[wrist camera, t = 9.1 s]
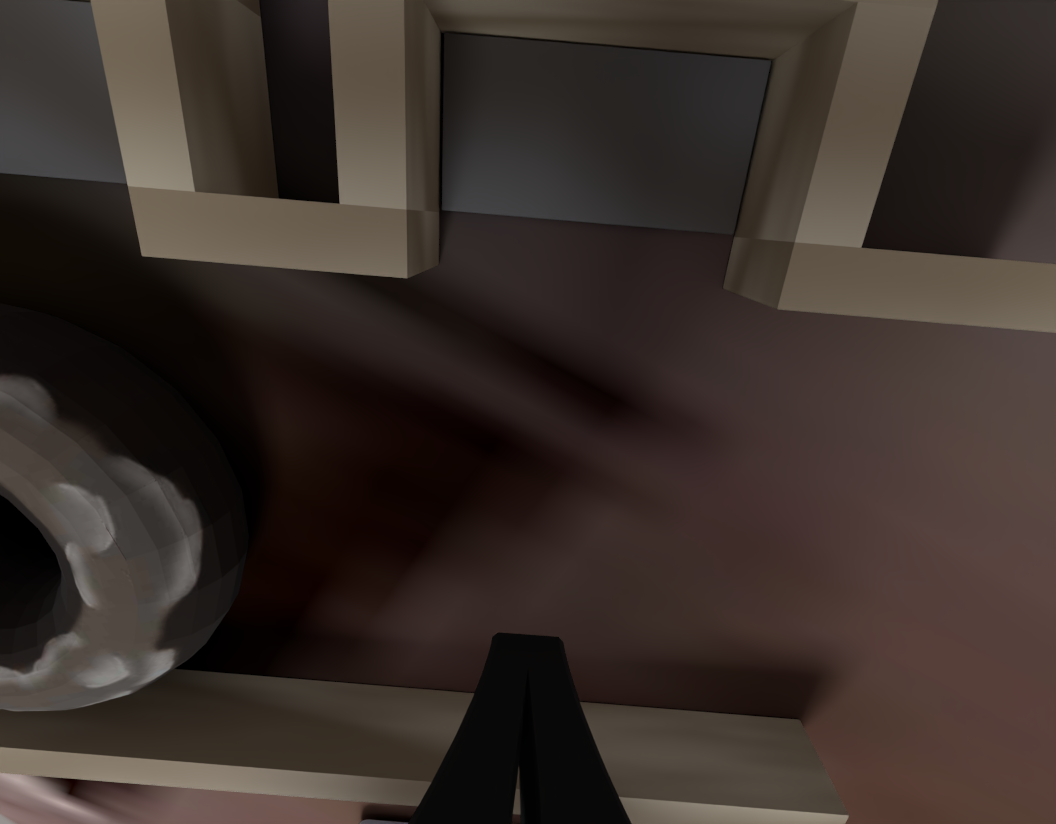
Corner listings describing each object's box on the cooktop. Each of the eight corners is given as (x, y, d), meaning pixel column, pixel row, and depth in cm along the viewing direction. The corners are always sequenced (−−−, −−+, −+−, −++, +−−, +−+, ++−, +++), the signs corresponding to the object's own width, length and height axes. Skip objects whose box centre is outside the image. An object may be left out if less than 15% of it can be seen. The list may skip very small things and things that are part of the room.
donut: (67, 197, 12) (-149, 185, 8) (350, 553, 16) (289, 657, 12) (-214, 405, 14) (-483, 470, 10) (90, 673, 18) (-29, 793, 14)
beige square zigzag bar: (790, 742, 18) (836, 839, 15) (-68, 673, 18) (-183, 758, 15) (1082, 15, 10) (1297, -65, 7) (-465, -117, 10) (-867, -252, 7)
